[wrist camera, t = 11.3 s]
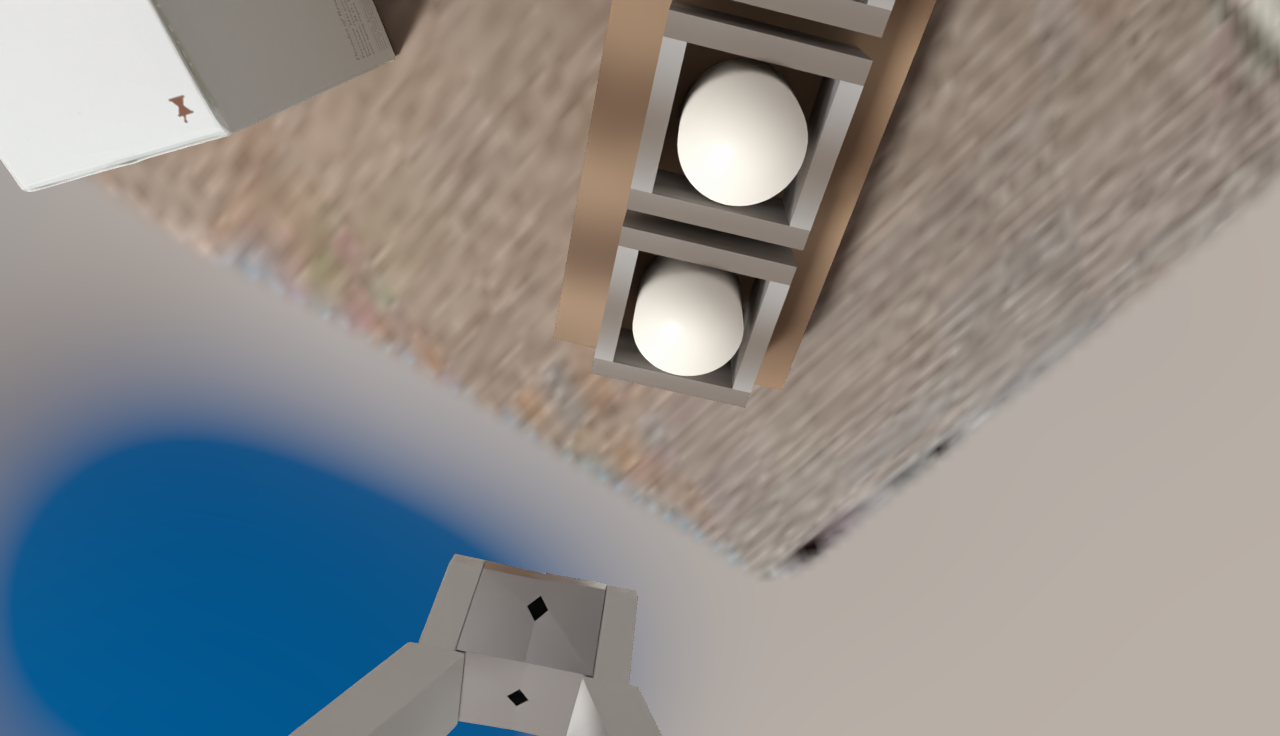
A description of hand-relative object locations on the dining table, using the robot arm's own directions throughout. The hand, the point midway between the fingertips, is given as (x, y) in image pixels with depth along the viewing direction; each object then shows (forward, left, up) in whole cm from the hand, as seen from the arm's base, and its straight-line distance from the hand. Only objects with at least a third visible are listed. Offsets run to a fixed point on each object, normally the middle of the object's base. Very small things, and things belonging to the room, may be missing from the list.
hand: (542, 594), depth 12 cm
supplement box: (-3, -16, -24) cm, 29 cm away
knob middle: (-3, +3, -21) cm, 21 cm away
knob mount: (-3, +3, -24) cm, 24 cm away
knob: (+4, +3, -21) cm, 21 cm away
